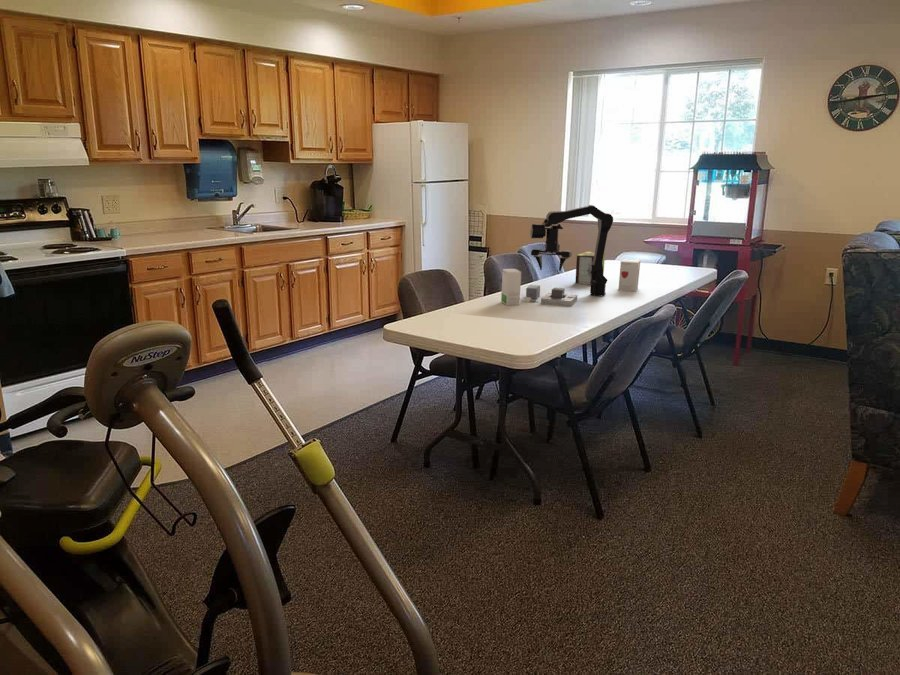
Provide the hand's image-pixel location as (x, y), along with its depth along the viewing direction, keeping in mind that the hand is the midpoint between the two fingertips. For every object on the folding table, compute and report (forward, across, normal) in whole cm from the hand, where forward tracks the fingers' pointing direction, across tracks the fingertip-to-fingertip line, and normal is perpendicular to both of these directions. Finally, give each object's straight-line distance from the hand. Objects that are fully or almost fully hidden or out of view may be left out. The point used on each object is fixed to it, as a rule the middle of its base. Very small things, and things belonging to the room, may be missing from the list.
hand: (550, 270), depth 313 cm
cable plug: (+12, +5, +18) cm, 22 cm away
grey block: (+12, -7, +13) cm, 19 cm away
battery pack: (+12, +6, +10) cm, 17 cm away
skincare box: (+12, +12, +26) cm, 31 cm away
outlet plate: (+12, -9, +14) cm, 21 cm away
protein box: (+12, -12, -42) cm, 45 cm away
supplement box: (+12, -34, -30) cm, 47 cm away
